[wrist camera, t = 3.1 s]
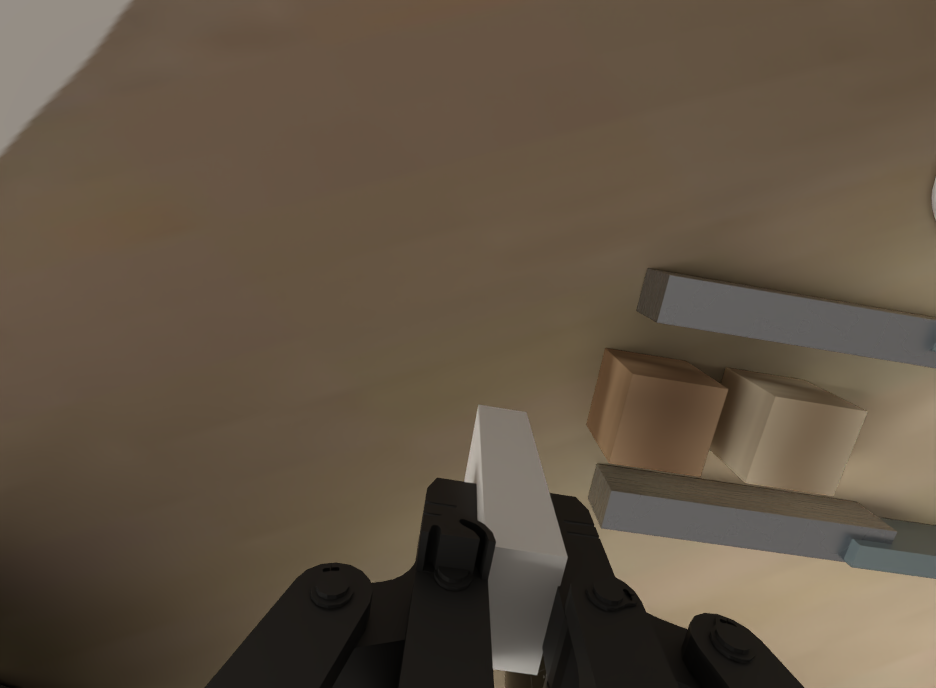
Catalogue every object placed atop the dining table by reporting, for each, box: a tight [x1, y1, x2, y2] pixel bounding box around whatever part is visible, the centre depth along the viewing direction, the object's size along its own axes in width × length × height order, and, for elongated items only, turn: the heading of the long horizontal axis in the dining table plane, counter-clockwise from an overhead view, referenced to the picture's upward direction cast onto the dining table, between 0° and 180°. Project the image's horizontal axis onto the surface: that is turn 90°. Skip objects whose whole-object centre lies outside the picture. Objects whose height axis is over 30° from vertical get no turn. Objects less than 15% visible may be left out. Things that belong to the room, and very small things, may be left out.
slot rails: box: [588, 268, 936, 562], centre depth 23 cm, size 14×12×2 cm
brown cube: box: [586, 348, 728, 477], centre depth 22 cm, size 4×4×4 cm
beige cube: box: [709, 367, 868, 496], centre depth 23 cm, size 4×4×4 cm
